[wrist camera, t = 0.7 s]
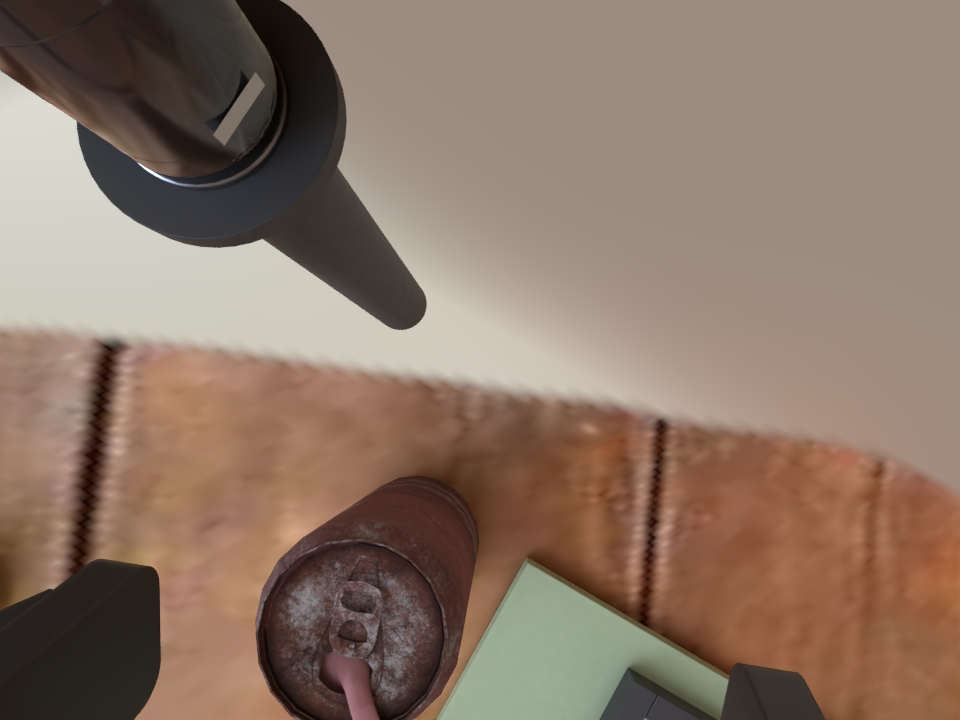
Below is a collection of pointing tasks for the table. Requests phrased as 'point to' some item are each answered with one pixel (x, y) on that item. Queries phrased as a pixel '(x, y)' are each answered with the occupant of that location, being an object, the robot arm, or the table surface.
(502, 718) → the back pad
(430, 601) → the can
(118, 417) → the table surface
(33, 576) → the table surface
